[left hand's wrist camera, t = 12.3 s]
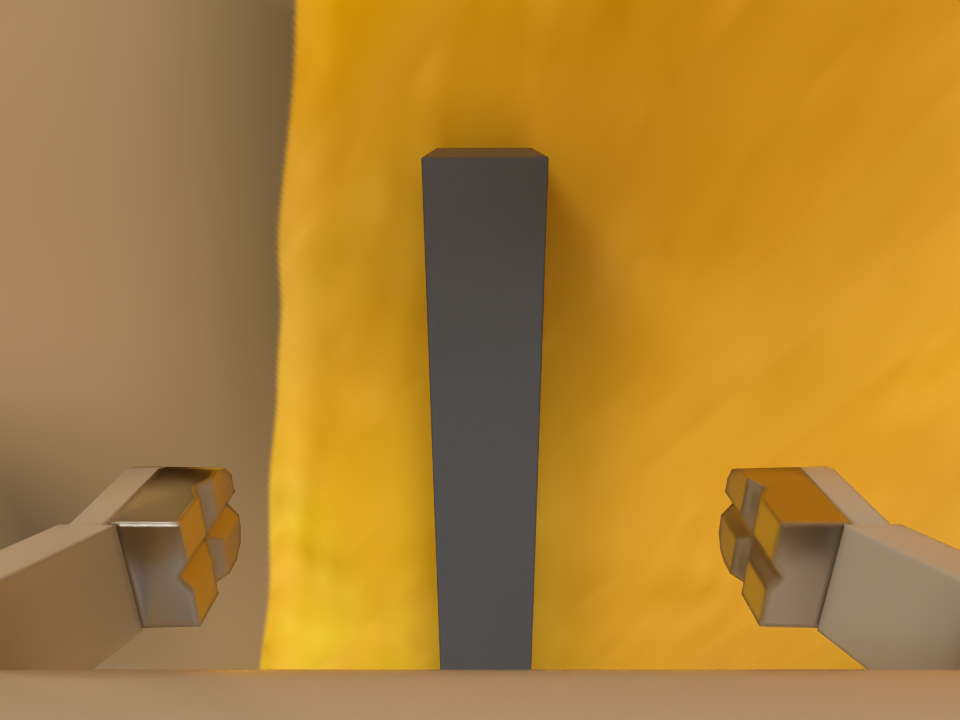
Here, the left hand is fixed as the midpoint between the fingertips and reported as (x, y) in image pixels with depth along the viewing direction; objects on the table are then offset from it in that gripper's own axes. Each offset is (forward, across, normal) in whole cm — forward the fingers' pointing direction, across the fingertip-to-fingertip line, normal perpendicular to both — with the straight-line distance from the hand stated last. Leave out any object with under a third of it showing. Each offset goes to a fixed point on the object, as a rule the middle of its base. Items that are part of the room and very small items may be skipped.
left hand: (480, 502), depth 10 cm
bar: (+22, 0, -23) cm, 32 cm away
